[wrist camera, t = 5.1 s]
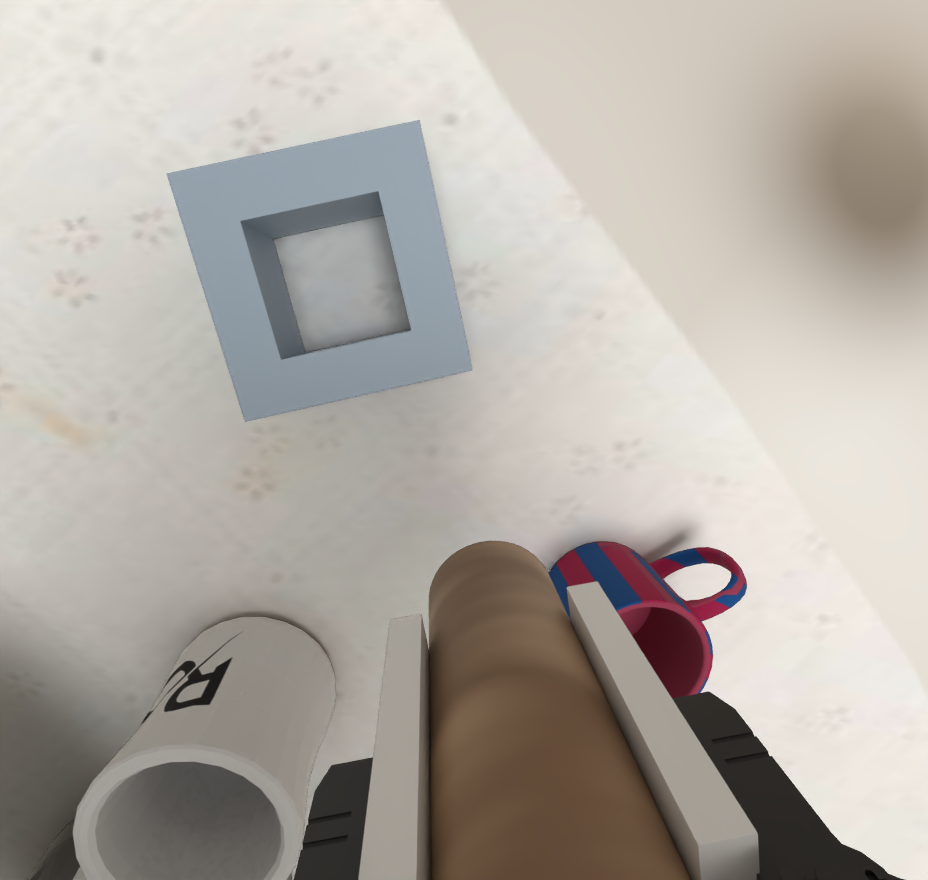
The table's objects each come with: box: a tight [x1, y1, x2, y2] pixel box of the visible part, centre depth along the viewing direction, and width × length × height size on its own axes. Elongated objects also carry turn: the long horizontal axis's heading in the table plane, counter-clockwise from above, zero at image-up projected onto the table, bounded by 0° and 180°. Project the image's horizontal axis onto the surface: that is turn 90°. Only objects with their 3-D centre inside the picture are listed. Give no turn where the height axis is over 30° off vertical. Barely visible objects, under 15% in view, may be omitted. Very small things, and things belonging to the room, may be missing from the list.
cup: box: [549, 542, 747, 698], centre depth 29 cm, size 7×10×7 cm
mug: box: [73, 617, 336, 880], centre depth 27 cm, size 12×9×10 cm
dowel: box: [429, 541, 692, 880], centre depth 10 cm, size 4×4×12 cm
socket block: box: [167, 120, 473, 422], centre depth 25 cm, size 10×10×5 cm
